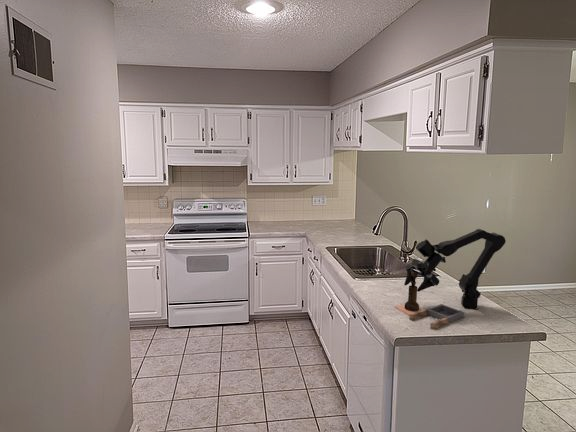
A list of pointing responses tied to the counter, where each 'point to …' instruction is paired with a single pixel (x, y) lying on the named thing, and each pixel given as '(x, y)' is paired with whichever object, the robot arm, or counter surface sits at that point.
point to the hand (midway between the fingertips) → (411, 288)
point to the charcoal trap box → (444, 312)
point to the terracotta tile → (402, 308)
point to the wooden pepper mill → (412, 295)
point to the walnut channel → (424, 313)
